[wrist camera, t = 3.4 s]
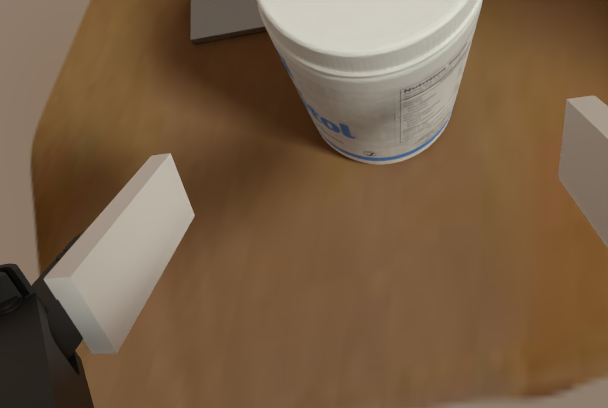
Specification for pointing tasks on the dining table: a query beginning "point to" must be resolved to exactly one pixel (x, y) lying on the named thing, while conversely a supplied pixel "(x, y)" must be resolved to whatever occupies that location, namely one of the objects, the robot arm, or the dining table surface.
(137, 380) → the dining table surface
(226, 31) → the grey flat rectangular plate
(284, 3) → the supplement tub
